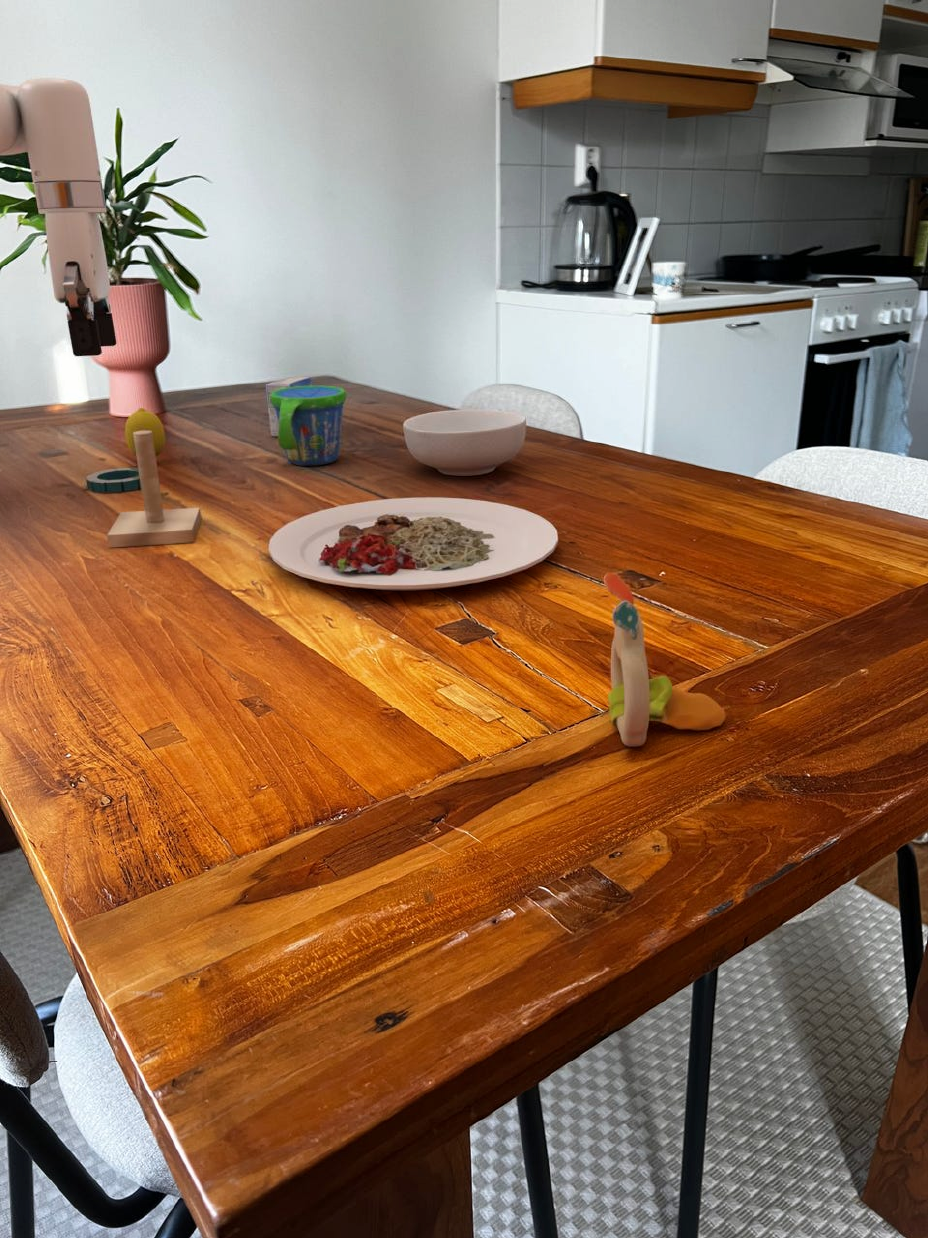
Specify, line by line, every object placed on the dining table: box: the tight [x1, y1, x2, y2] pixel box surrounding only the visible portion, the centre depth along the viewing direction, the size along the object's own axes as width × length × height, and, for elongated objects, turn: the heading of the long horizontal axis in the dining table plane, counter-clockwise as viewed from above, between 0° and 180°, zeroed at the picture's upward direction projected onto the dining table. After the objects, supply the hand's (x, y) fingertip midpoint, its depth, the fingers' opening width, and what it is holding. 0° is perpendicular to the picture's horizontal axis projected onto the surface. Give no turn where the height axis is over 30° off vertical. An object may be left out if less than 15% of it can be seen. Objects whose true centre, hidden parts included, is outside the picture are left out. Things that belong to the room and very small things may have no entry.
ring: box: [85, 467, 141, 494], centre depth 130 cm, size 8×8×1 cm
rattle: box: [603, 572, 727, 748], centre depth 63 cm, size 8×8×12 cm
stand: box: [106, 431, 202, 549], centre depth 107 cm, size 9×9×12 cm
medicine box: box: [265, 376, 313, 438], centre depth 159 cm, size 8×4×9 cm, turn 162°
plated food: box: [268, 496, 559, 591], centre depth 101 cm, size 30×30×3 cm
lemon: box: [124, 407, 166, 457], centre depth 141 cm, size 6×6×8 cm
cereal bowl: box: [402, 409, 527, 477], centre depth 134 cm, size 17×17×7 cm
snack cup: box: [270, 385, 348, 467], centre depth 139 cm, size 16×10×10 cm
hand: (96, 350), depth 119 cm, fingers open, 9 cm apart
